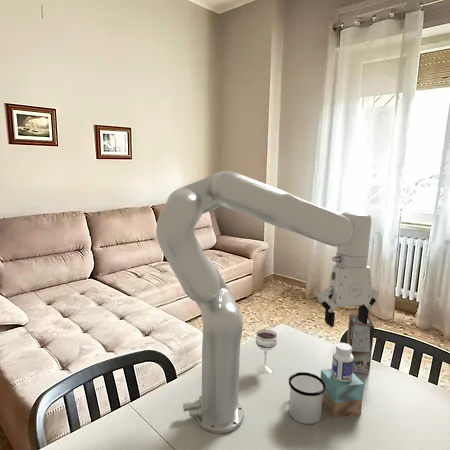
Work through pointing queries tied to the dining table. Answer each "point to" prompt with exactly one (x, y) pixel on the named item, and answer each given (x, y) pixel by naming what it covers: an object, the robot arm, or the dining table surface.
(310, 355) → the dining table surface
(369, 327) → the coffee box
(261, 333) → the wineglass
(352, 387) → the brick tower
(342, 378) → the pill bottle
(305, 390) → the mug
